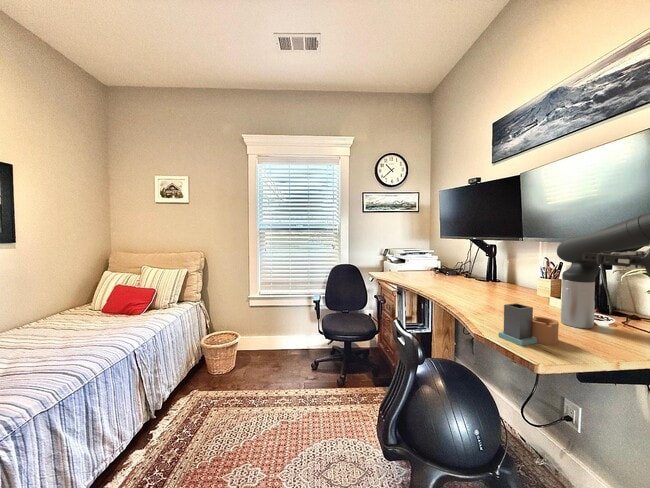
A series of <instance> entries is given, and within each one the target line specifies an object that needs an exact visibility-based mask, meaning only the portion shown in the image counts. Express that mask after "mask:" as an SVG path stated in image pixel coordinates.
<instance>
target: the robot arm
mask: <svg viewBox="0 0 650 488" xmlns="http://www.w3.org/2000/svg"><path fill="white" fill-rule="evenodd" d="M646 246H650V212H647V213H644V214H641V215H638V216H634V217H631V218H629V219H626V220H623V221H621V222H619V223H615V224H613V225H610V226H607V227H604V228H603V229H600V230H598V231H597V230H596V232H592V233H588V234H585V235H581V236H576V237H573V238H568V239H565V240H564V241H562V242H560V243H559V245H558V246H557V248H556V255H557V256H558V258H559V259H560V260H562V261H564V262H566V263H571V264H570V267H568V268H567V269H566V270H564V271H563V272H562V275H561V278H562V279H561V304H560V305H561V307H560V309H561V310H560V323H561V324H563V325H565V326H569V327H573V328H580V329H592V328H594V325H595V306H596V301H595V291H596V290H595V288H596V287H595V286H596V277H597V276H598V274H599V270H600V266H601V265H606V266H607V265H608V266H613V267H625V268H629V269H638V268H644V269H645V272H646V273H647V274H648V275H649V276H650V248H649V249H648V250H647V251H641V250H638V251H637V250H633V251H632V250H630V249H636V248H643V247H646ZM624 250H629V251H624ZM619 251H620V252H619ZM621 251H623V252H621Z"/></svg>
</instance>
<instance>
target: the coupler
mask: <svg viewBox="0 0 650 488" xmlns="http://www.w3.org/2000/svg"><path fill="white" fill-rule="evenodd" d="M533 310H534V308H533V307H531V306H528V305H525V304H521V303H517V302H515V303H506V304H504V305H503V332H504V334H506V335H509V336H511V337H514V338H516V339H519V340H521V339H526V338H532V323H533V319H534V317H533V316H534V311H533Z"/></svg>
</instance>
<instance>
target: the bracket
mask: <svg viewBox="0 0 650 488" xmlns="http://www.w3.org/2000/svg"><path fill="white" fill-rule="evenodd" d="M533 316H534V317H533V323H532V337H535V338H537V343H536V344H539V345H540V344H541V345H544V346H556V345H558V344H559V327H560V326H559V323H560V322H559V321H558V320H556V319H553V318H549V317H545V316H537V315H533Z"/></svg>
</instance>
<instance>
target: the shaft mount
mask: <svg viewBox="0 0 650 488" xmlns="http://www.w3.org/2000/svg"><path fill="white" fill-rule="evenodd" d="M498 338H501V339H504V340H506V341H508V342H511V343H513V344H515V345H518V346H520V347H523V346H528V345H533V344H538V343H537V338H535V337H532V338H526V339H521V340H519V339H516V338H514V337H511V336H509V335H506V334H504V331H501V332H498Z"/></svg>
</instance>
